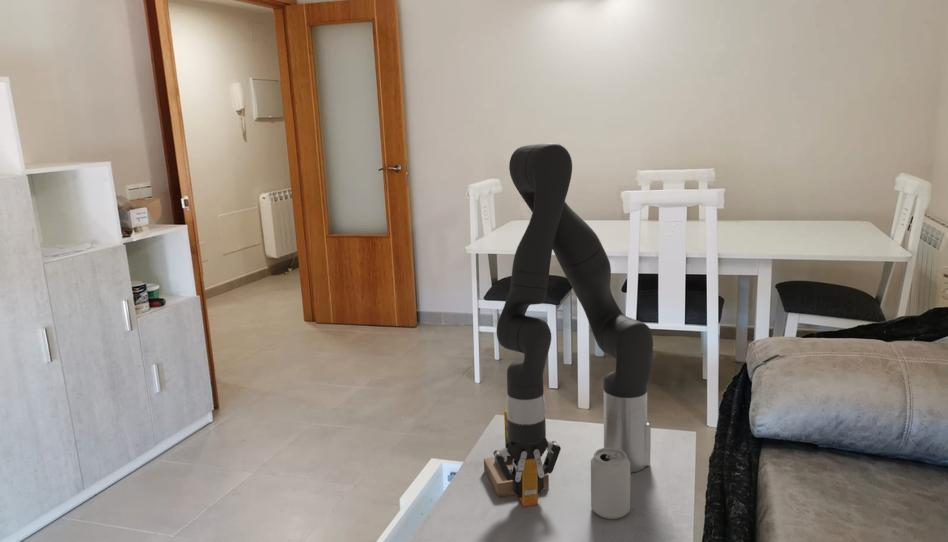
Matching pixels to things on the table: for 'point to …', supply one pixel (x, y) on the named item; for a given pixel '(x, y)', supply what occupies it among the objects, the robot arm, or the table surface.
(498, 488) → the socket base
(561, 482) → the table surface
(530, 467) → the supplement box
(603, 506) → the can
